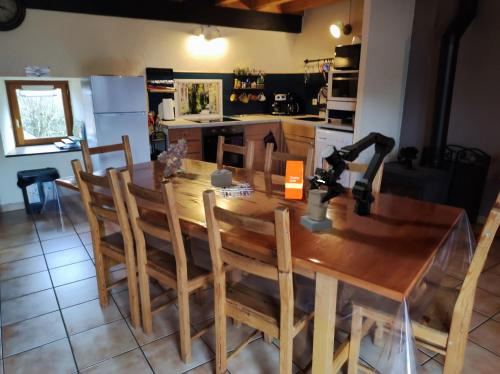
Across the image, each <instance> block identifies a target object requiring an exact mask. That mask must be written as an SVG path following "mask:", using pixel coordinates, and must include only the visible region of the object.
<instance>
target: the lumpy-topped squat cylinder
mask: <svg viewBox="0 0 500 374" xmlns="http://www.w3.org/2000/svg"><path fill="white" fill-rule="evenodd" d="M232 184H233V172H232V171H230V170H228V169H225V168H224V169H219V168H217V169H216V170H214V171H213V172H211V173H210V185H211V186H212V187H225V186H224V185H227V186H230V185H232Z"/></svg>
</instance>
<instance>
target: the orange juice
mask: <svg viewBox="0 0 500 374" xmlns="http://www.w3.org/2000/svg"><path fill="white" fill-rule="evenodd" d="M303 181H304V161H302V160H301V161H300V160H286V169H285V187H284V188H285V193H284V196H285V197H284V199H291V200H292V199H293V200H296V199H297V200H302V198H303V183H304V182H303Z"/></svg>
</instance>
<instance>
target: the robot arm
mask: <svg viewBox="0 0 500 374" xmlns="http://www.w3.org/2000/svg"><path fill="white" fill-rule="evenodd" d="M373 145H374V153H373V155H372V157H371V160H370V162H369V163H368V166H367V168H366V169H365V172H364V174H363V176H362V178H361V179H360V180H356V181H354V184H353V186H352V190H351V195H352V198H353V200H355V204H354V210H352V211H353V213H355V214H357V215H358V216H359V217H360V216H370V215H371V216H372V215H373V213H372V212H371V207H372V204H373V203H375V200H376V197H375V196H374V195H373V194H372V192H373V182H374V180H375V179H376V176H377V174H378V172H379V171H380V168H381V166H382V164H383V162H384V159H385V158H386V156H387V155H389V154H390V153H392V152H393V150H394V148H395V146H396V140H395V138H394V137H391V136H386V135H384V134H382V133H380V132H376V131H371V132H369V133H368V134H367V135H366V136H363V138H361V139H360V140H358V141H356V142H355V143H352V144H348V145H345V146H342V147H340V149H339V150H338V149H337V147H336V146H335V145H330V146H329V147H326V148H325V149H323V150H322V152H321V153H320V154H321V157H322V158H323V159H324V160H325V162H326V164H327V165H329V166H330V167H329V168H325V169H324V168H321V167H317V166H316V168H315V171H314V174H310V175H309V176H308V177H307V179H306V180H307V181H308V182H309V183H310V184H309V185H310V186H309V187H310V190H314V189H320V187H321V186H323V187H326V188H327V190H326V191H327V193H326V194H325V196H324V198H323V199H322V201H321V203H322V204H323V203H325V202H327V201H328V202H329V201H330V200H332V199H334V198H337V197H340V196H341V197H342V196H343V197H344V195H345V193H346V188H345V187H344V186H343V184H342V183H340V182H338V181H341V179H342V178H341V176H342V174H343V173H344V171H345V170H347V171H350V166H349V165H350V164H349V163H347V162H350V163H353V162H354V161H356V160H357V159H358V158H359V157H360V154H361V153H363V151H366V150H367V149H368V148H370V147H372V146H373ZM318 176H319V177H318ZM308 196H309V194H308Z"/></svg>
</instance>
